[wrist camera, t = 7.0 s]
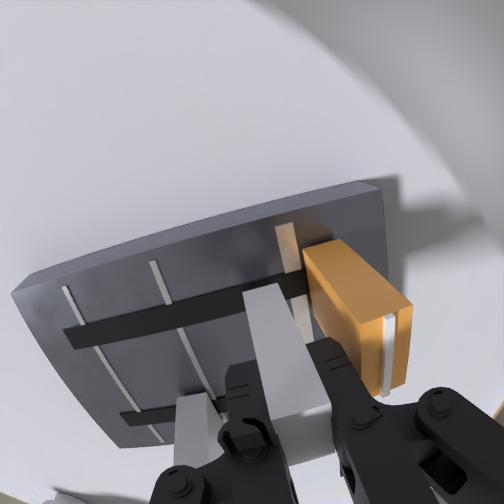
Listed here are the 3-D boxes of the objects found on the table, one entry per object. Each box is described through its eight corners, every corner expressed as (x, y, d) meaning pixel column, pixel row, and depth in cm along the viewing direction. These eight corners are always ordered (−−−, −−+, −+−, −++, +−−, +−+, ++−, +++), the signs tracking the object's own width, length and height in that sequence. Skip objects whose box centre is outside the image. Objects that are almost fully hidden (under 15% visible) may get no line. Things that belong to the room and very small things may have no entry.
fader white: (176, 397, 16) (172, 489, 10) (206, 392, 16) (210, 486, 10) (198, 431, 17) (201, 513, 12) (224, 426, 17) (233, 509, 12)
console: (29, 274, 15) (9, 294, 13) (358, 180, 16) (382, 189, 13) (124, 424, 20) (119, 449, 18) (370, 366, 21) (385, 389, 19)
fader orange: (302, 248, 14) (362, 328, 8) (339, 238, 14) (416, 307, 8) (313, 314, 15) (363, 405, 9) (346, 303, 15) (407, 386, 9)
